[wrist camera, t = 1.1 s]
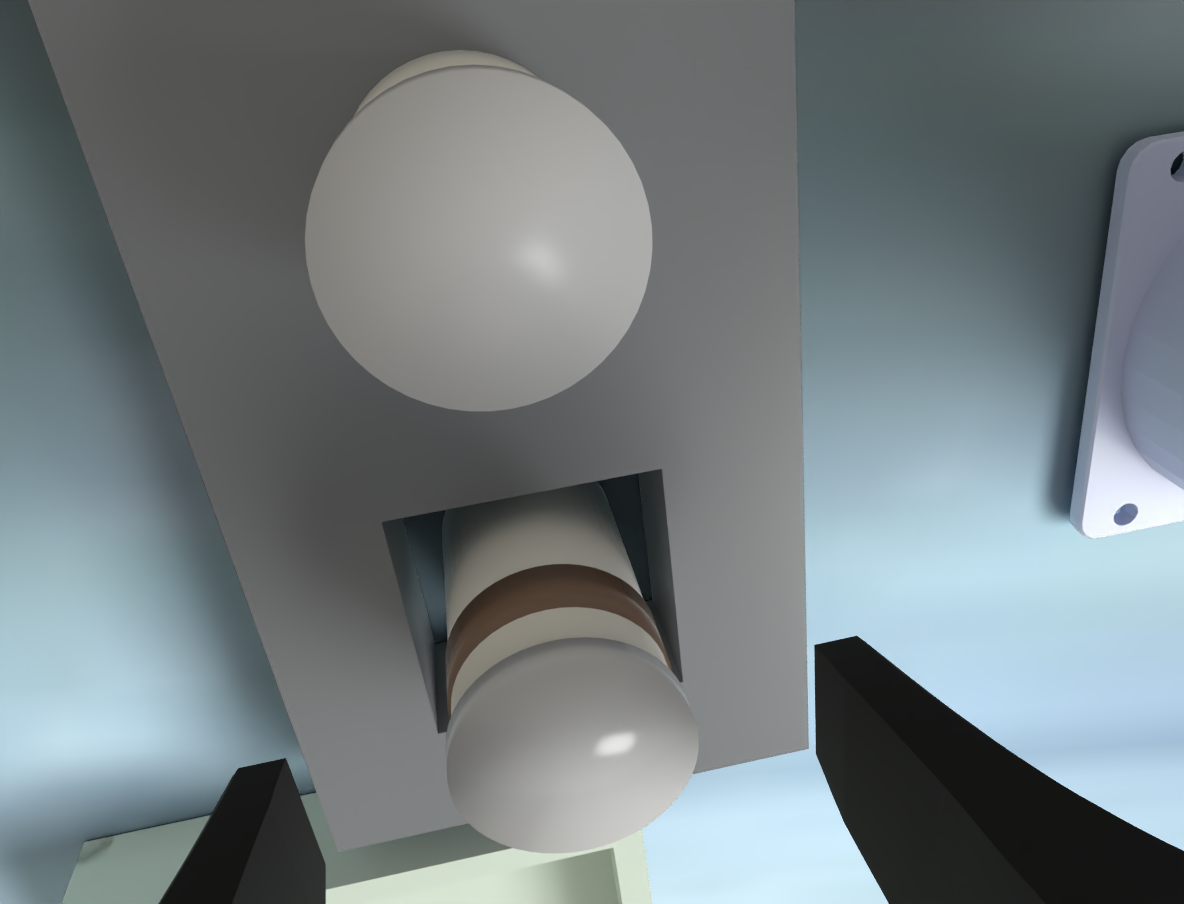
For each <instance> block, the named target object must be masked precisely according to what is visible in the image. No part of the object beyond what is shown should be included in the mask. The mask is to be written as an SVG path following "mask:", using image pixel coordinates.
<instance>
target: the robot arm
mask: <svg viewBox="0 0 1184 904" xmlns="http://www.w3.org/2000/svg"><path fill="white" fill-rule="evenodd" d="M1182 152H1183V161H1182V164H1181V166H1180V168H1179V169H1178V170H1177V171H1176V172H1175V174H1173V175H1171V166H1172V164H1173V161H1174V159H1175V158H1176V157H1177V156H1178V155H1179V154H1180V153H1182ZM1123 505H1124V507H1123V508H1122V509H1121V510H1120V511H1119V512H1118V513H1117V514H1115V513H1116V511H1117V510H1118V509H1119V508H1120V507H1121V506H1123ZM1180 521H1184V131H1182V132H1176V133H1169V134H1163V135H1157V136H1151V137H1147V138H1144V139H1142V140H1139V141H1137V142H1136V143H1135V144H1133V145H1132V146H1131V147H1130V148H1129V149H1128V150H1127V151H1126V152H1125V154H1124V155H1123V157H1122V158H1121V160H1120V163H1119V166H1118V170H1117V174H1116V182H1115V189H1114V196H1113V204H1112V211H1111V218H1110V225H1109V233H1108V240H1107V247H1106V254H1105V262H1104V269H1103V276H1102V284H1101V291H1100V298H1099V305H1098V313H1097V320H1096V327H1095V335H1094V342H1093V349H1092V356H1091V364H1090V371H1089V378H1088V386H1087V393H1086V400H1085V407H1084V415H1083V422H1082V429H1081V436H1080V444H1079V451H1078V458H1077V466H1076V473H1075V480H1074V487H1073V495H1072V502H1071V509H1070V523H1071V524H1072V526H1073V527H1074V528H1075V529H1076V530H1077V531H1078V532H1079V533H1081V534H1082V535H1083V536H1085V537H1087V538H1090V539H1092V538H1102V537H1107V536H1112V535H1117V534H1122V533H1127V532H1131V531H1136V530H1141V529H1146V528H1151V527H1156V526H1161V525H1166V524H1170V523H1175V522H1180ZM815 718H816V755H817V757H818V760H819V762H820V765H821V767H822V770H823V772H824V775H825V777H826V780H827V782H828V785H829V787H830V790H831V792H832V795H833V797H834V799H835V802H836V804H837V807H838V809H839V811H840V814H841V816H842V818H843V821H844V823H845V825H846V827H847V828H848V830H849V832H850V834H851V836H852V838H853V840H854V841H855V843H856V845H857V847H858V849H859V850H860V852H861V854H862V856H863V858H864V860H865V861H866V863H867V865H868V867H869V869H870V870H871V872H872V874H873V876H874V878H875V879H876V881H877V883H878V885H879V887H880V888H881V890H882V892H883V894H884V896H885V897H886V899H887V901H888V903H889V904H1184V851H1183V850H1181V849H1179V848H1176V847H1174V846H1172V845H1170V844H1168V843H1166V842H1164V841H1162V840H1160V839H1158V838H1156V837H1154V836H1152V835H1150V834H1148V833H1146V832H1145V831H1143V830H1141V829H1139V828H1137V827H1135V826H1133V825H1131V824H1129V823H1127V822H1126V821H1124V820H1122V819H1120V818H1119V817H1117V816H1115V815H1113V814H1111V813H1110V812H1108V811H1106V810H1104V809H1103V808H1101V807H1099V806H1097V805H1095V804H1094V803H1092V802H1090V801H1088V800H1086V799H1085V798H1083V797H1081V796H1079V795H1078V794H1076V793H1074V792H1073V791H1071V790H1069V789H1068V788H1066V787H1064V786H1063V785H1061V784H1059V783H1058V782H1056V781H1055V780H1053V779H1051V778H1050V777H1048V776H1047V775H1045V774H1044V773H1042V772H1041V771H1039V770H1038V769H1036V768H1035V767H1033V766H1031V765H1030V764H1028V763H1027V762H1025V761H1024V760H1022V759H1021V758H1019V757H1018V756H1016V755H1015V754H1013V753H1012V752H1010V751H1009V750H1007V749H1006V748H1005V747H1003V746H1002V745H1000V744H999V743H997V742H996V741H994V740H993V739H992V738H990V737H989V736H987V735H986V734H985V733H983V732H982V731H981V730H979V729H978V728H976V727H975V726H974V725H972V724H971V723H969V722H968V721H967V720H965V719H964V718H963V717H961V716H960V715H958V714H957V713H956V712H954V711H953V710H952V709H950V708H949V707H948V706H946V705H945V704H944V703H942V702H941V701H940V700H938V699H937V698H936V697H934V696H933V695H932V694H931V693H929V692H928V691H927V690H925V689H924V688H923V687H922V686H920V685H919V684H918V683H916V682H915V681H914V680H913V679H911V678H910V677H909V676H908V675H906V674H905V673H904V672H902V671H901V670H900V669H899V668H897V667H896V666H895V665H894V664H892V663H891V662H890V661H889V660H887V659H886V658H885V657H884V656H882V655H881V654H880V653H879V652H877V651H876V650H875V649H874V648H872V647H871V646H870V645H868V644H867V643H866V642H865V641H863V640H862V639H860V638H859V637H858V636H854V637H849V638H845V639H840V640H835V641H831V642H826V643H821V644H817V645H815ZM158 904H326V864H325V861H324V858H323V856H322V853H321V850H320V848H319V845H318V842H317V840H316V837H315V834H314V832H313V829H312V826H311V824H310V821H309V818H308V816H307V813H306V810H305V808H304V805H303V802H302V800H301V797H300V794H299V792H298V789H297V787H296V784H295V781H294V779H293V776H292V773H291V771H290V768H289V765H288V763H287V760H286V758H284V759H280V760H275V761H270V762H266V763H261V764H256V765H252V766H247V767H242V768H239V769H238V770H237V771H236V773H235V774H234V775H233V776H232V778H231V780H230V782H229V784H228V785H227V787H226V789H225V791H224V792H223V794H222V796H221V798H220V800H219V801H218V803H217V805H216V807H215V808H214V810H213V812H212V814H211V816H210V817H209V819H208V821H207V823H206V824H205V826H204V828H203V830H202V831H201V833H200V835H199V837H198V838H197V840H196V842H195V844H194V845H193V847H192V849H191V850H190V852H189V854H188V856H187V857H186V859H185V861H184V862H183V864H182V866H181V867H180V869H179V871H178V872H177V874H176V876H175V877H174V879H173V881H172V882H171V884H170V885H169V887H168V889H167V890H166V892H165V894H164V895H163V897H162V898H161V900H160V902H159V903H158Z"/></svg>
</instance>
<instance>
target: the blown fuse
mask: <svg viewBox="0 0 1184 904" xmlns="http://www.w3.org/2000/svg"><path fill="white" fill-rule="evenodd" d="M442 540H443V560H444V580H445V599H446V619H447V639H448V641H447V647H446V657H445V665H446V687H447V709H448V715H449V724H448V728H447V734H446V770H447V782H448V788H449V792H450V795H451V797H452V800H453V803H454V804H455V806H456V808H457V809H458V811H459V813H460V814H461V815H462V816H463V818H464V819H465V820H466V821H467V822H468V823H469V824H470V825H471V826H472V827H473V828H475V829H476V830H477V831H478V832H480V833H481V834H483V835H484V836H486V837H488V838H489V839H491V840H494V841H496V842H498V843H500V844H502V845H505V846H508V847H511V848H514V849H519V850H524V851H528V852H537V853H571V852H579V851H584V850H590V849H594V848H598V847H601V846H605V845H608V844H611V843H613V842H616V841H619V840H621V839H623V838H625V837H627V836H630V835H632V834H634V833H636V832H637V831H639V830H641V829H642V828H644V827H646V826H647V825H649V824H650V823H651V822H653V821H654V820H655V819H657V818H658V817H659V816H660V815H662V814H663V813H664V812H665V811H666V810H667V809H668V808H669V807H670V806H671V805H672V804H673V803H674V802H675V800H676V799H677V798H678V797H679V796H680V794H681V793H682V791H683V790H684V788H685V787H686V785H687V784H688V782H689V780H690V778H691V776H692V774H693V771H694V768H695V765H696V762H697V757H698V751H699V735H698V730H697V724H696V722H695V719H694V716H693V714H692V711H691V708H690V706H689V703H688V700H687V697H686V695H685V692H684V689H683V687H682V686H681V684H680V682H679V680H678V679H677V677H676V676H675V675H674V674H673V672H672V670H671V665H670V661H669V659H668V656H667V653H666V650H665V648H664V645H663V642H662V640H661V637H660V634H659V631H658V629H657V626H656V623H655V620H654V618H653V615H652V612H651V610H650V609H649V607H648V605H647V603H646V602H645V600H644V599H643V597H642V594H641V591H640V588H639V585H638V583H637V580H636V577H635V574H634V572H633V569H632V566H631V563H630V560H629V558H628V555H627V552H626V549H625V547H624V544H623V541H622V538H621V536H620V533H619V530H618V527H617V524H616V522H615V519H614V516H613V513H612V511H611V508H610V505H609V502H608V500H607V497H606V494H605V493H604V491H603V489H602V487H601V486H600V484H599V483H598V482H597V481H595V482H589V483H584V484H579V485H574V486H568V487H563V488H558V489H553V490H547V491H542V492H537V493H531V494H526V495H521V496H516V497H510V498H505V499H500V500H495V501H489V502H484V503H479V504H474V505H468V506H463V507H458V508H453V509H447V510H446V511H445V514H444V518H443V524H442Z"/></svg>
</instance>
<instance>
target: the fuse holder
mask: <svg viewBox="0 0 1184 904" xmlns="http://www.w3.org/2000/svg"><path fill="white" fill-rule="evenodd" d="M28 3H29V5H30V8H31V11H32V14H33V16H34V19H35V22H36V25H37V27H38V30H39V33H40V36H41V38H42V41H43V44H44V47H45V49H46V52H47V55H48V58H49V60H50V63H51V66H52V69H53V71H54V74H55V77H56V79H57V82H58V85H59V88H60V90H61V93H62V96H63V99H64V101H65V104H66V107H67V110H68V112H69V115H70V118H71V121H72V123H73V126H74V129H75V132H76V134H77V137H78V140H79V143H80V145H81V148H82V151H83V154H84V156H85V159H86V162H87V164H88V167H89V170H90V173H91V175H92V178H93V181H94V184H95V186H96V189H97V192H98V195H99V197H100V200H101V203H102V206H103V208H104V211H105V214H106V217H107V219H108V222H109V225H110V228H111V230H112V233H113V236H114V239H115V241H116V244H117V247H118V250H119V252H120V255H121V258H122V260H123V263H124V266H125V269H126V271H127V274H128V277H129V280H130V282H131V285H132V288H133V291H134V293H135V296H136V299H137V302H138V304H139V307H140V310H141V313H142V315H143V318H144V321H145V324H146V326H147V329H148V332H149V335H150V337H151V340H152V343H153V346H154V348H155V351H156V354H157V357H158V359H159V362H160V365H161V367H162V370H163V373H164V376H165V378H166V381H167V384H168V387H169V389H170V392H171V395H172V398H173V400H174V403H175V406H176V409H177V411H178V414H179V417H180V420H181V422H182V425H183V428H184V431H185V433H186V436H187V439H188V442H189V444H190V447H191V450H192V452H193V455H194V458H195V461H196V463H197V466H198V469H199V472H200V474H201V477H202V480H203V483H204V485H205V488H206V491H207V494H208V496H209V499H210V502H211V505H212V507H213V510H214V513H215V516H216V518H217V521H218V524H219V527H220V529H221V532H222V535H223V538H224V540H225V543H226V546H227V548H228V551H229V554H230V557H231V559H232V562H233V565H234V568H235V570H236V573H237V576H238V579H239V581H240V584H241V587H242V590H243V592H244V595H245V598H246V601H247V603H248V606H249V609H250V612H251V614H252V617H253V620H254V623H255V625H256V628H257V631H258V634H259V636H260V639H261V642H262V644H263V647H264V650H265V653H266V655H267V658H268V661H269V664H270V666H271V669H272V672H273V675H274V677H275V680H276V683H277V686H278V688H279V691H280V694H281V697H282V699H283V702H284V705H285V708H286V710H287V713H288V716H289V719H290V721H291V724H292V727H293V730H294V732H295V735H296V738H297V740H298V743H299V746H300V749H301V751H302V754H303V757H304V760H305V762H306V765H307V768H308V771H309V773H310V776H311V779H312V782H313V784H314V787H315V790H316V793H317V795H318V798H319V801H320V804H321V806H322V809H323V812H324V815H325V817H326V820H327V823H328V826H329V828H330V831H331V834H332V836H333V839H334V842H335V845H336V847H337V850H338V852H341V851H345V850H350V849H354V848H359V847H364V846H368V845H373V844H377V843H382V842H386V841H391V840H395V839H400V838H404V837H409V836H414V835H418V834H423V833H427V832H432V831H436V830H441V829H445V828H450V827H454V826H459V825H464V824H468V822H467V821H466V820H465V819H464V818H463V816H462V815H461V814H460V813H459V811H458V809H457V808H456V806H455V804H454V803H453V800H452V797H451V795H450V792H449V788H448V782H447V770H446V734H447V728H448V724H449V715H448V709H447V687H446V665H445V657H446V647H447V641H446V642H441V643H436V644H435V641H434V637H433V633H432V629H431V625H430V621H429V617H428V614H427V610H426V606H425V602H424V598H423V594H422V590H421V586H420V582H419V578H418V574H417V570H416V566H415V563H414V559H413V555H412V551H411V547H410V543H409V539H408V535H407V531H406V527H405V523H404V519H403V518H405V517H410V516H416V515H421V514H426V513H431V512H437V511H442V510H447V509H453V508H458V507H463V506H468V505H474V504H479V503H484V502H489V501H495V500H500V499H505V498H510V497H516V496H521V495H526V494H531V493H537V492H542V491H547V490H553V489H558V488H563V487H568V486H574V485H579V484H584V483H589V482H595V481H600V480H605V479H610V478H616V477H621V476H626V475H631V474H637V473H638V477H639V486H640V495H641V504H642V512H643V521H644V530H645V539H646V548H647V557H648V565H649V574H650V583H651V592H652V600H649V601H645V602H646V603H647V605H648V607H649V609H650V610H651V612H652V615H653V618H654V620H655V623H656V626H657V629H658V631H659V634H660V637H661V640H662V642H663V645H664V648H665V650H666V653H667V656H668V659H669V661H670V665H671V670H672V672H673V674H674V675H675V676H676V677H677V679H678V680H679V682H680V684H681V686H682V687H683V689H684V692H685V695H686V697H687V700H688V703H689V706H690V708H691V711H692V714H693V716H694V719H695V722H696V724H697V730H698V735H699V751H698V757H697V762H696V765H695V768H694V771H693V774H696V773H700V772H705V771H709V770H714V769H718V768H723V767H727V766H732V765H737V764H741V763H746V762H750V761H755V760H759V759H764V758H768V757H773V756H777V755H782V754H787V753H791V752H796V751H800V750H805V749H809V743H808V689H807V635H806V581H805V527H804V473H803V420H802V366H801V312H800V258H799V204H798V150H797V96H796V43H795V0H28Z"/></svg>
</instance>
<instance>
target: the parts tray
mask: <svg viewBox="0 0 1184 904" xmlns="http://www.w3.org/2000/svg"><path fill="white" fill-rule="evenodd" d="M300 797H301V800H302V802H303V805H304V808H305V810H306V813H307V816H308V818H309V821H310V824H311V826H312V829H313V832H314V834H315V837H316V840H317V842H318V845H319V848H320V850H321V853H322V856H323V858H324V861H325V864H326V904H652V899H651V892H650V885H649V878H648V870H647V863H646V856H645V849H644V842H643V835H642V829H641V830H639V831H637V832H636V833H634V834H632V835H630V836H627V837H625V838H623V839H621V840H619V841H616V842H613V843H611V844H608V845H605V846H601V847H598V848H594V849H590V850H584V851H579V852H571V853H537V852H528V851H524V850H519V849H514V848H511V847H508V846H505V845H502V844H500V843H498V842H496V841H494V840H491V839H489V838H488V837H486V836H484V835H483V834H481V833H480V832H478V831H477V830H476V829H475V828H473V827H472V826H471V825H470V824H469V823H468V824H464V825H459V826H454V827H450V828H445V829H441V830H436V831H432V832H427V833H423V834H418V835H414V836H409V837H404V838H400V839H395V840H391V841H386V842H382V843H377V844H373V845H368V846H364V847H359V848H354V849H350V850H345V851H341V852H338V850H337V847H336V845H335V842H334V839H333V836H332V834H331V831H330V828H329V826H328V823H327V820H326V817H325V815H324V812H323V809H322V806H321V804H320V801H319V798H318V795H317V793H311V794H307V795H302V796H300ZM210 816H211V815H209V816H204V817H199V818H195V819H190V820H185V821H180V822H176V823H171V824H166V825H162V826H157V827H152V828H148V829H143V830H138V831H134V832H129V833H124V834H120V835H115V836H110V837H106V838H101V839H96V840H92V841H87V842H84V844H83V847H82V850H81V852H80V855H79V858H78V860H77V863H76V866H75V868H74V871H73V874H72V877H71V879H70V882H69V885H68V887H67V890H66V893H65V895H64V898H63V901H62V903H61V904H158V903H159V902H160V900H161V898H162V897H163V895H164V894H165V892H166V890H167V889H168V887H169V885H170V884H171V882H172V881H173V879H174V877H175V876H176V874H177V872H178V871H179V869H180V867H181V866H182V864H183V862H184V861H185V859H186V857H187V856H188V854H189V852H190V850H191V849H192V847H193V845H194V844H195V842H196V840H197V838H198V837H199V835H200V833H201V831H202V830H203V828H204V826H205V824H206V823H207V821H208V819H209V817H210Z"/></svg>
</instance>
